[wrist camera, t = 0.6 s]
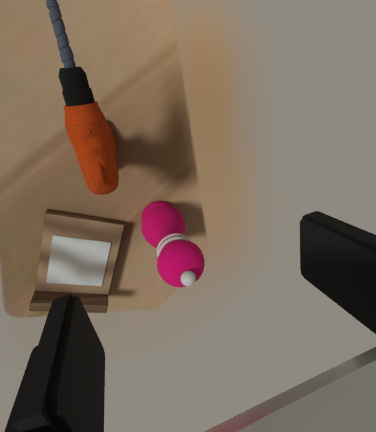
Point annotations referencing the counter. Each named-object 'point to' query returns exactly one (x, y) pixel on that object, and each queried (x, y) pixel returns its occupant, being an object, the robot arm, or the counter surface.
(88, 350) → the robot arm
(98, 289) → the brown picture frame
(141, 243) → the counter surface
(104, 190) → the toy drill
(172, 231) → the pepper mill
